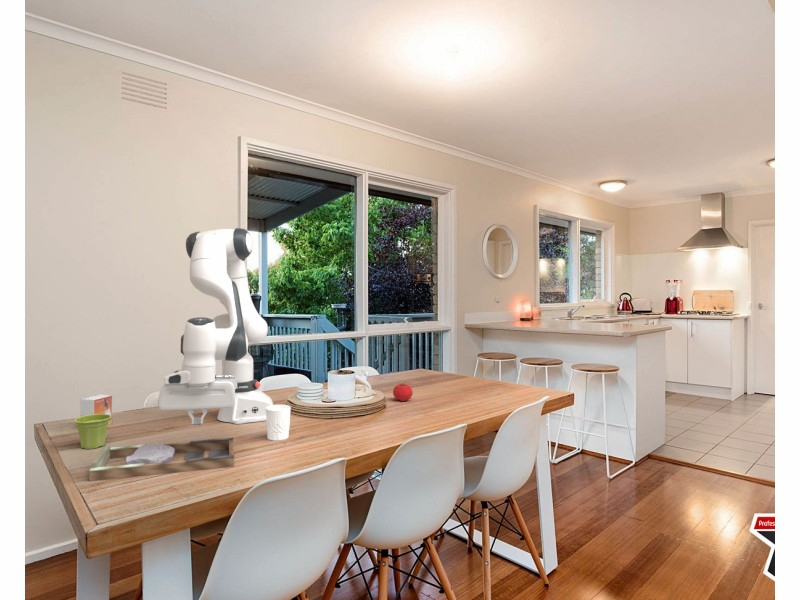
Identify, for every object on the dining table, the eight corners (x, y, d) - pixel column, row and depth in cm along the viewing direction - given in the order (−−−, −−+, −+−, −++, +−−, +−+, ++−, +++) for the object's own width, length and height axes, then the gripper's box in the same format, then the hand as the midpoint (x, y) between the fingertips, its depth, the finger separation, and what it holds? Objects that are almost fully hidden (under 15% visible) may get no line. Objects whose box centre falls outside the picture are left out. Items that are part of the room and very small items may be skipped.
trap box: (232, 446, 148) (233, 433, 148) (233, 466, 131) (233, 452, 131) (106, 457, 136) (106, 443, 136) (89, 481, 120) (89, 465, 119)
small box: (93, 431, 160) (93, 400, 160) (79, 430, 161) (79, 398, 161) (112, 424, 168) (112, 394, 168) (98, 423, 169) (99, 393, 169)
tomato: (391, 398, 218) (392, 380, 217) (411, 398, 219) (411, 380, 218) (393, 403, 209) (394, 384, 209) (413, 402, 210) (414, 384, 210)
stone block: (176, 462, 139) (140, 455, 138) (179, 446, 139) (144, 439, 138) (159, 479, 127) (120, 472, 126) (163, 462, 127) (124, 455, 126)
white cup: (294, 435, 160) (295, 405, 160) (281, 442, 152) (282, 411, 152) (274, 433, 162) (274, 403, 162) (260, 439, 155) (260, 408, 155)
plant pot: (71, 453, 139) (71, 423, 139) (78, 443, 148) (78, 415, 148) (108, 449, 143) (108, 420, 143) (113, 440, 152) (113, 412, 151)
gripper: (237, 372, 142) (236, 419, 142) (161, 374, 135) (159, 423, 135) (237, 376, 136) (236, 425, 136) (157, 378, 129) (156, 429, 129)
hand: (197, 424), depth 136 cm, fingers closed
